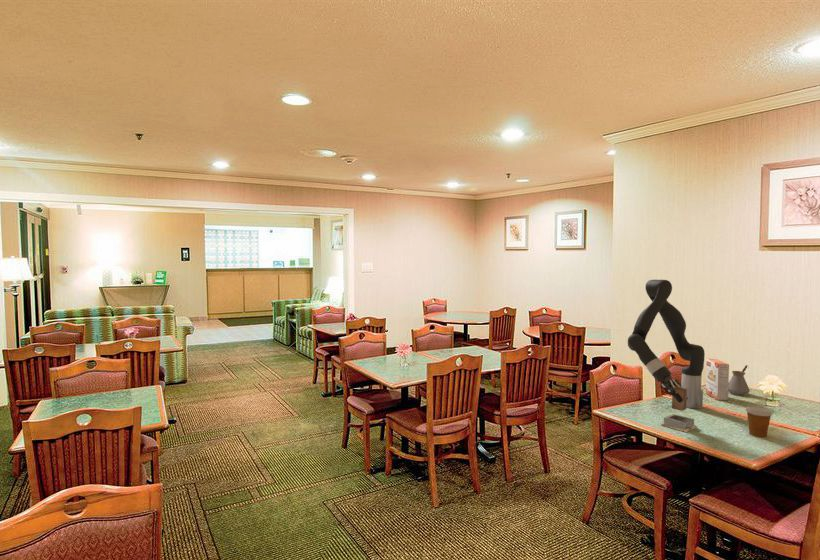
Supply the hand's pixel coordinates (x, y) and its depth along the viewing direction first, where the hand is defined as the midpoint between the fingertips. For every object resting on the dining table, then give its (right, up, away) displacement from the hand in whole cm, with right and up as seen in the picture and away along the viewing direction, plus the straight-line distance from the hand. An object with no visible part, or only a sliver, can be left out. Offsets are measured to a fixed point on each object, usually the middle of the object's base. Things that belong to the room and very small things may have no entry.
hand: (683, 400), depth 221 cm
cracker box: (+48, -11, +51) cm, 71 cm away
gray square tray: (-1, -13, +2) cm, 13 cm away
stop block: (-1, -4, +2) cm, 5 cm away
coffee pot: (+69, -11, +62) cm, 94 cm away
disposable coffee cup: (+28, -14, -8) cm, 33 cm away
